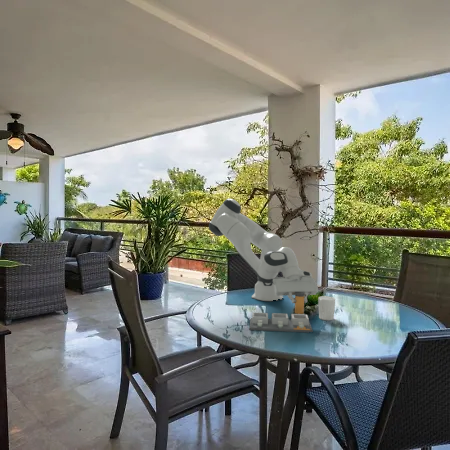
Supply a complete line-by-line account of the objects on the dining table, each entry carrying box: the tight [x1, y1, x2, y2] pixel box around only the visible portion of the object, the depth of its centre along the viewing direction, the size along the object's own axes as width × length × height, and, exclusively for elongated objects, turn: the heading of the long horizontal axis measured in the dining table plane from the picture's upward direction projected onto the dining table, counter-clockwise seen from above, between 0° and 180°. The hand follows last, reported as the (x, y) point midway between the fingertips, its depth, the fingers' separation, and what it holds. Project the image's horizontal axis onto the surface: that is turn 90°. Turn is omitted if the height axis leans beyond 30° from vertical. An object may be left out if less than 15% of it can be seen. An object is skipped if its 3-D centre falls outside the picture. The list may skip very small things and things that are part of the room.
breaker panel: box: [248, 311, 314, 333], centre depth 161 cm, size 14×27×4 cm, turn 84°
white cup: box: [317, 295, 336, 321], centre depth 174 cm, size 8×8×10 cm
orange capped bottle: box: [294, 292, 305, 314], centre depth 162 cm, size 4×4×9 cm
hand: (300, 302), depth 162 cm, fingers closed on orange capped bottle, 4 cm apart
